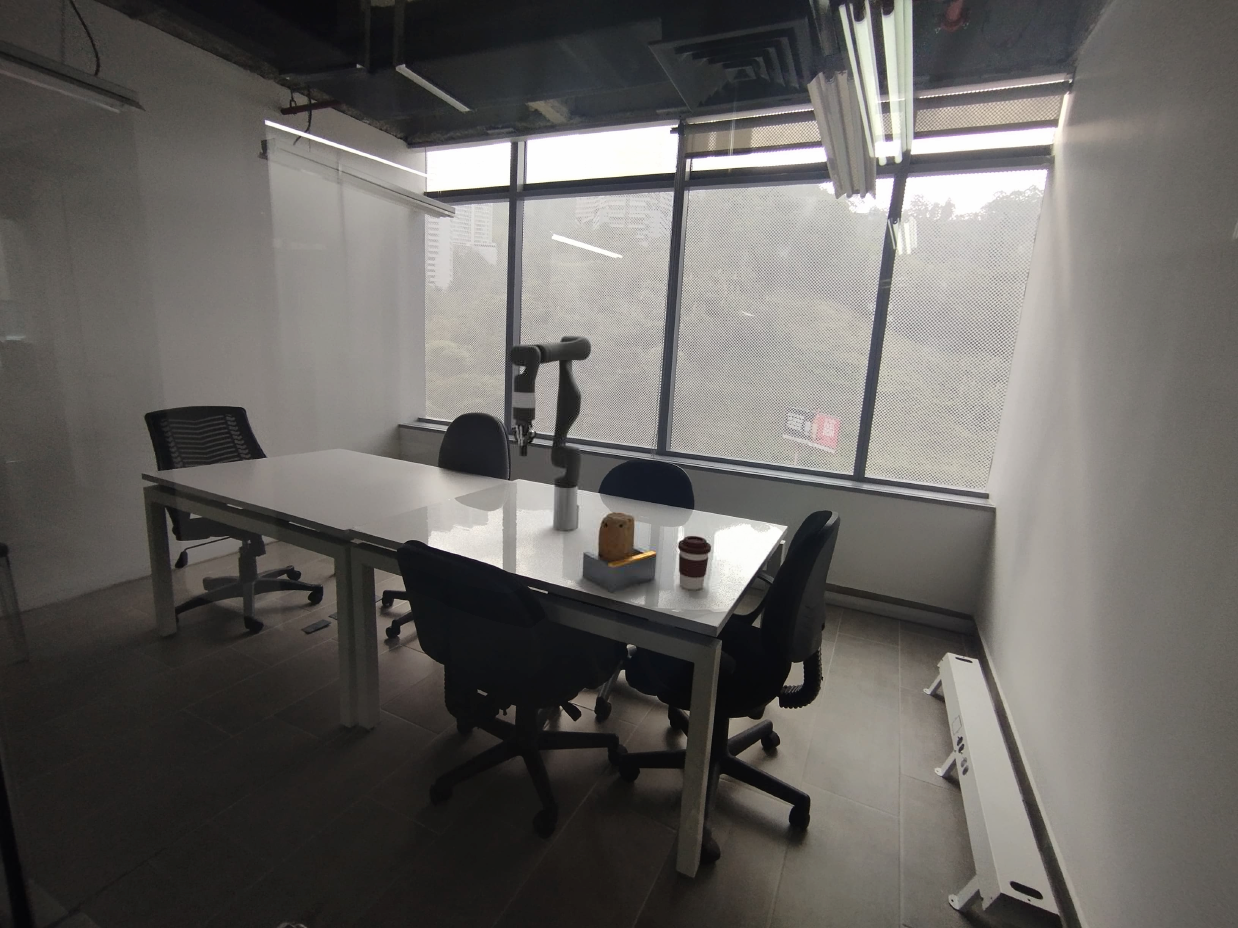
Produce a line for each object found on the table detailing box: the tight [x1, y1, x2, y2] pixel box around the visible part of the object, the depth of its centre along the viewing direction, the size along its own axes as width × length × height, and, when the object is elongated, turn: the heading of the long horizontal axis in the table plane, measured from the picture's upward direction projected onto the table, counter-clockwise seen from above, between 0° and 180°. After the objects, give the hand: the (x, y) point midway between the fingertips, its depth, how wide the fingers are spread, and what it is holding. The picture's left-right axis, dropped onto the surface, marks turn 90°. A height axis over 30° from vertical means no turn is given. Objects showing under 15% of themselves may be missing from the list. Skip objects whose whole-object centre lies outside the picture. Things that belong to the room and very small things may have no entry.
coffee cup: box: [677, 535, 712, 591], centre depth 163 cm, size 10×10×15 cm
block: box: [597, 512, 635, 562], centre depth 166 cm, size 11×8×20 cm
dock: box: [581, 545, 657, 594], centre depth 166 cm, size 18×14×9 cm
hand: (523, 456), depth 182 cm, fingers closed
